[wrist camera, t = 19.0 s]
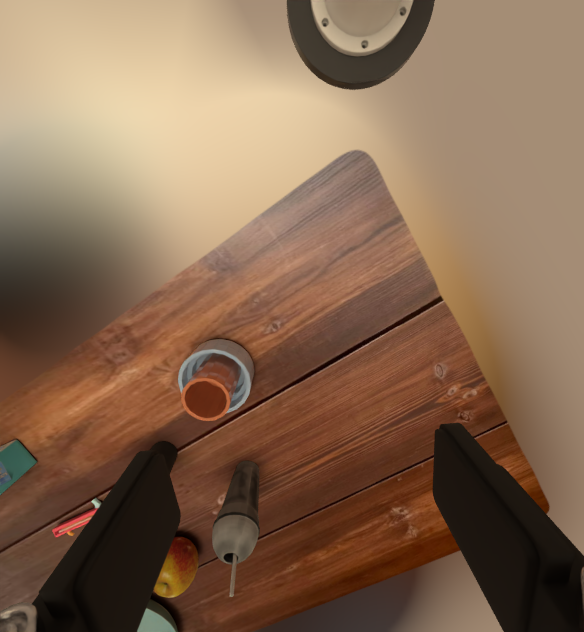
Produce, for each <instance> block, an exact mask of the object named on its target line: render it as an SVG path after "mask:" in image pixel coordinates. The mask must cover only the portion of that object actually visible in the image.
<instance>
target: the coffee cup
mask: <svg viewBox="0 0 584 632" xmlns="http://www.w3.org/2000/svg"><path fill="white" fill-rule="evenodd" d="M240 376H241V366H240V365H239V364H238V363H237V362H235V361H234V360H233V359H231V358H229V357H227V356H225V355H223V354H217V353H212V354H210V355H208V356H207V357H206V358H205V359H204V361H203V362H202V363H201V364H200V366H199V367H198V369H197V370H196V372H195V373H194V374H193V376H192V377H191V379H190V380H189V381H188V383H187V384H186V386H185V387H184V388H183V390H182V395H181V400H182V404H183V407H184V408H185V410H186V411H187V412H188V413H189V414H190V415H191V416H193V417H195V418H196V419H200V420H204V421H211V420H216V419H218V418H220V417H222V416H224V415H225V413H226V412H227V411H228V410H229V407H230V404H231V402H232V399H233V396H234V393H235V391H236V388H237V385H238V383H239V380H240Z"/></svg>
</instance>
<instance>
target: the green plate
mask: <svg viewBox="0 0 584 632" xmlns="http://www.w3.org/2000/svg"><path fill="white" fill-rule="evenodd" d="M137 632H178V630H177V627H176V624H175V622H174V620H173V618H172V616H171V615H170V613H169V612H168V611H167V610H166V609H165V608H164V607H163V606H162V605H160V604H159V603H157V602H156V601H154V600H152V599H150V600H149V603H148V605H147V608H146V610H145V613H144V615H143V618H142V620H141V623H140V625H139V628H138V631H137Z"/></svg>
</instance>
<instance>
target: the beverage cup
mask: <svg viewBox="0 0 584 632" xmlns="http://www.w3.org/2000/svg"><path fill="white" fill-rule="evenodd" d="M258 498H259V467H258V466H257V465H256V464H255V463H254V462H251V461H243V462H241V463H239V464H238V465H237V467H236V470H235V472H234V475H233V478H232V480H231V483H230V486H229V489H228V492H227V495H226V498H225V500H224V503H223V506H222V509H221V510H220V512H219V514H218V516H217V519H216V520H215V522H214V525H213V533H212V542H213V548H214V551H215V553H216V555H217V556H218V558H219V559H220V560H221V561H223V562H225V563H227V564H232V575H231V587H230V597H233V596H234V585H235V573H236V564H238V563H240V562H242V561H244V560H245V559H246V558H247V557H248V556H249V555H250V554H251V553H252V551H253V549H254V547H255V545H256V542H257V539H258V536H259V532H260V528H259V517H258Z"/></svg>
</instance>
